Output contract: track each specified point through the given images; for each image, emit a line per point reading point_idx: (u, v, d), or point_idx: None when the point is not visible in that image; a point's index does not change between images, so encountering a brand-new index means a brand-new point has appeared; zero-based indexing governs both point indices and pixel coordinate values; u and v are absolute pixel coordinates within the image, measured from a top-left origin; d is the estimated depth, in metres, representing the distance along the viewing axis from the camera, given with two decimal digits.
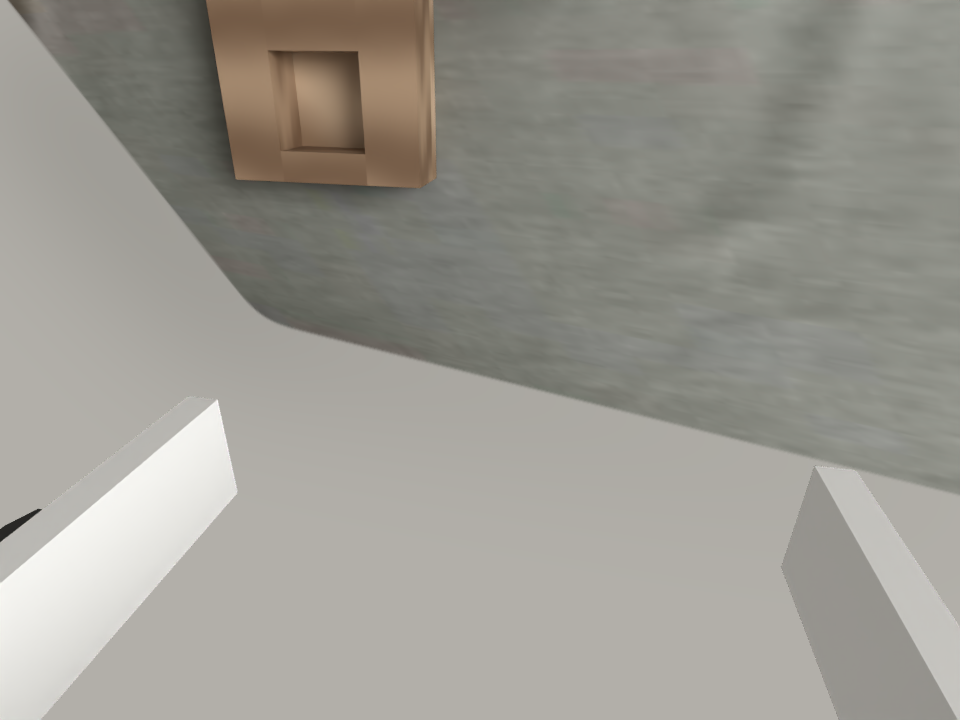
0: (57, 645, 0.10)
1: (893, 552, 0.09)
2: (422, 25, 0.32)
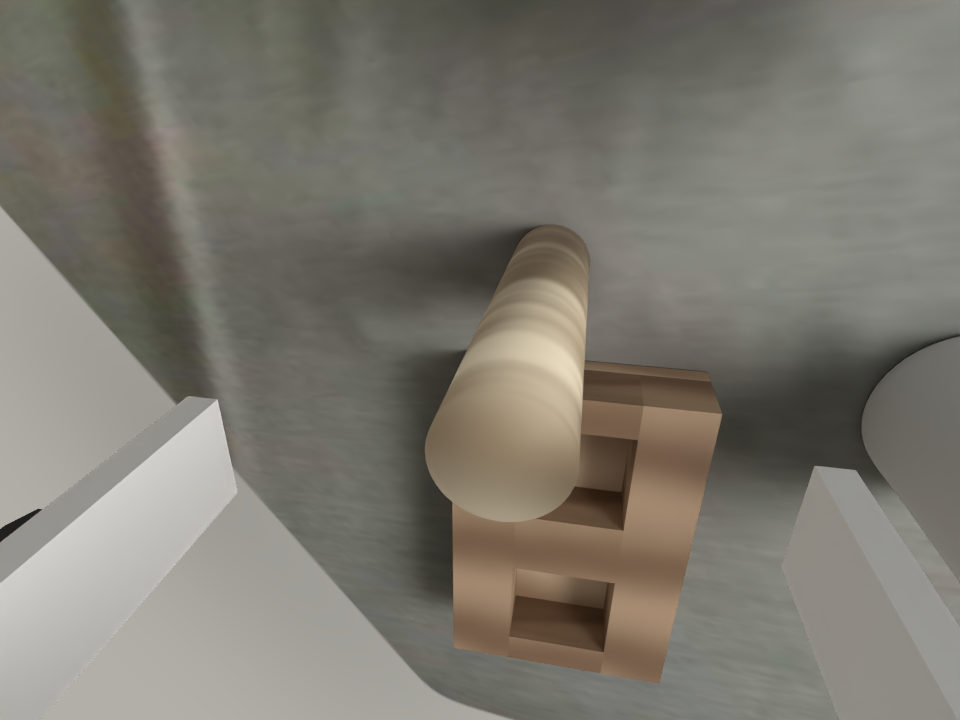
0: (57, 645, 0.10)
1: (893, 552, 0.09)
2: None
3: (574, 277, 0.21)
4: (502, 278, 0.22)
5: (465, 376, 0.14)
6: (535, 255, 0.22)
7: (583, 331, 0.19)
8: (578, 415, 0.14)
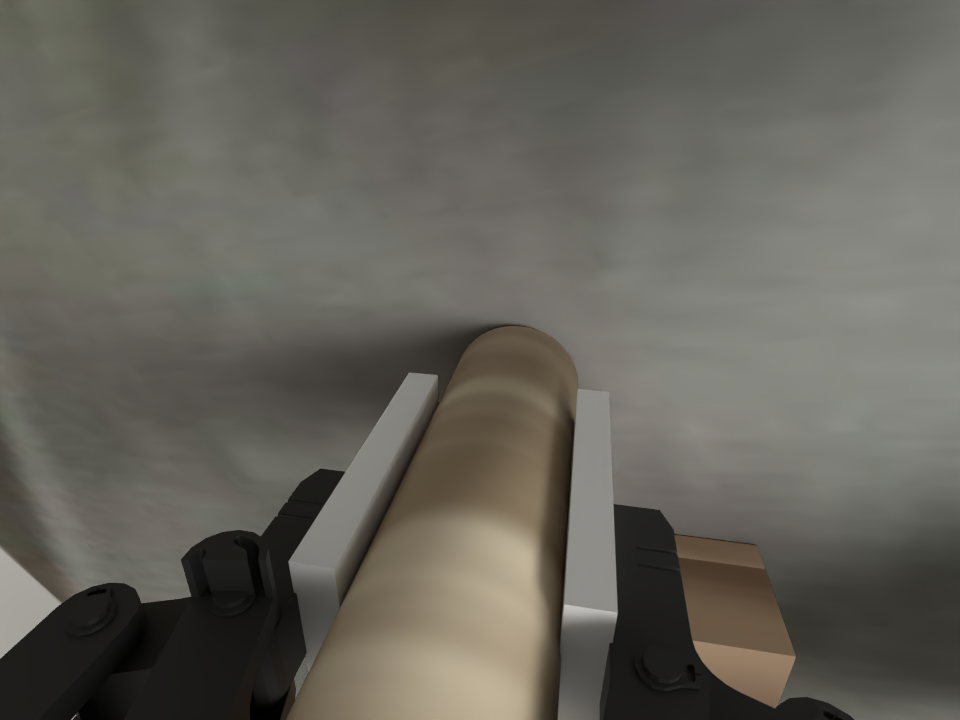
0: None
1: (598, 442, 0.12)
2: None
3: (543, 476, 0.11)
4: (411, 464, 0.12)
5: None
6: (473, 420, 0.12)
7: (555, 660, 0.08)
8: None
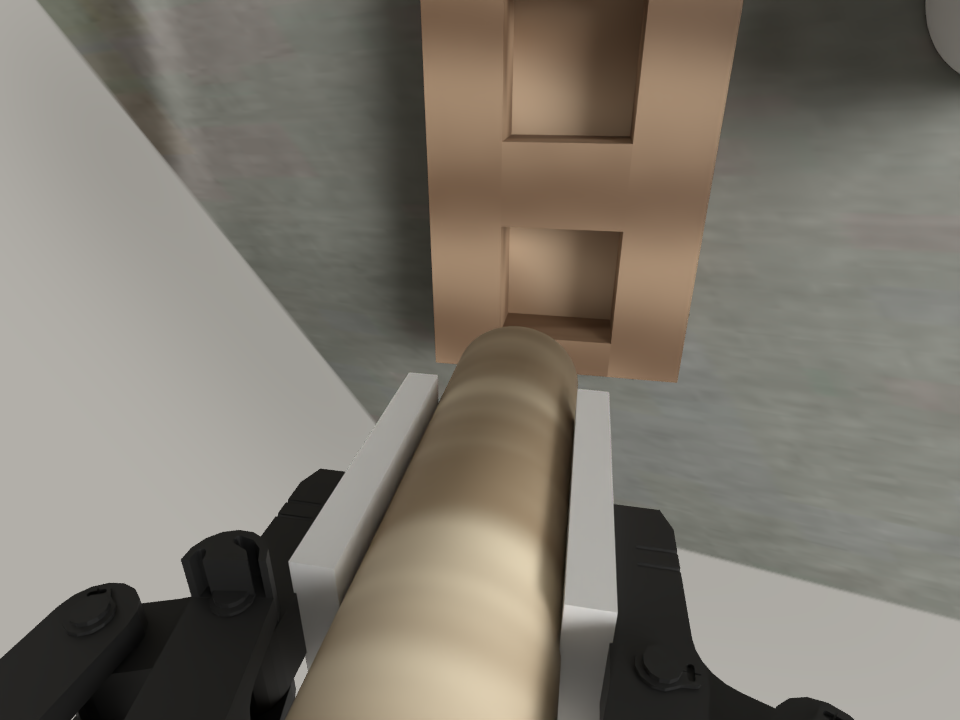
0: None
1: (597, 442, 0.12)
2: None
3: (543, 477, 0.11)
4: (410, 465, 0.12)
5: None
6: (472, 420, 0.12)
7: (554, 663, 0.08)
8: None
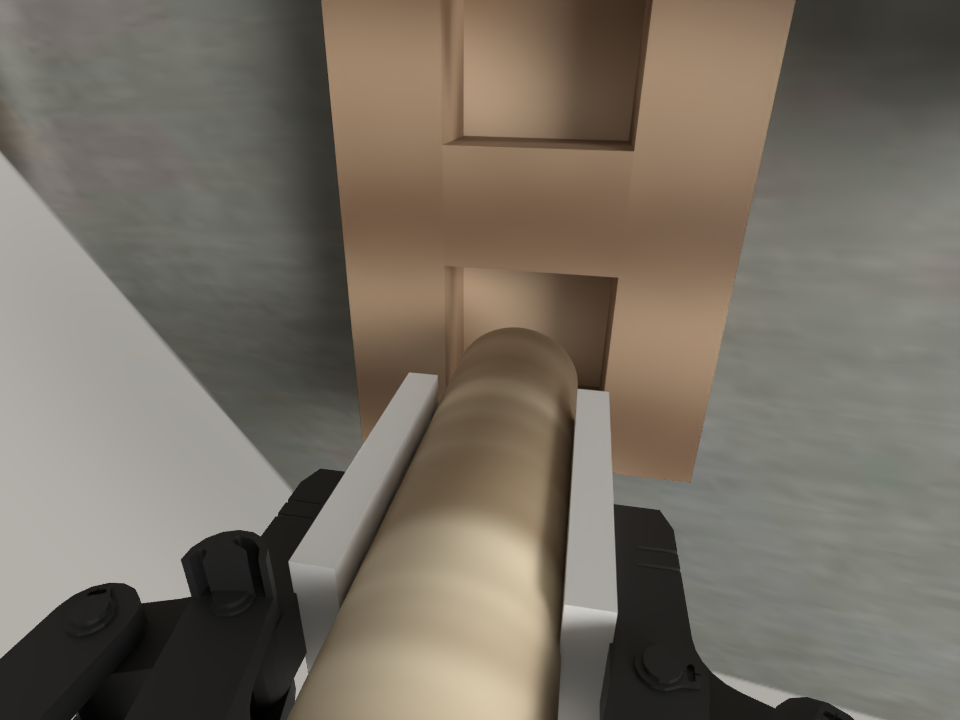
0: None
1: (598, 442, 0.12)
2: None
3: (543, 478, 0.11)
4: (410, 466, 0.12)
5: None
6: (472, 422, 0.12)
7: (554, 664, 0.08)
8: None
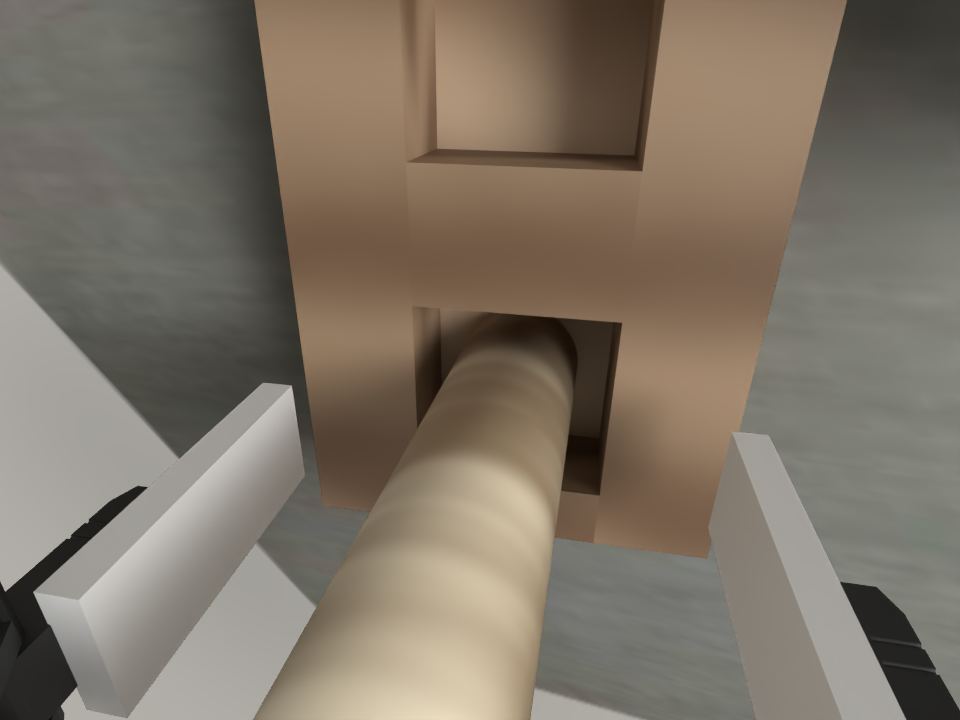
0: (169, 610, 0.10)
1: (786, 502, 0.10)
2: None
3: (539, 432, 0.12)
4: (421, 422, 0.13)
5: None
6: (477, 383, 0.13)
7: (541, 578, 0.10)
8: None
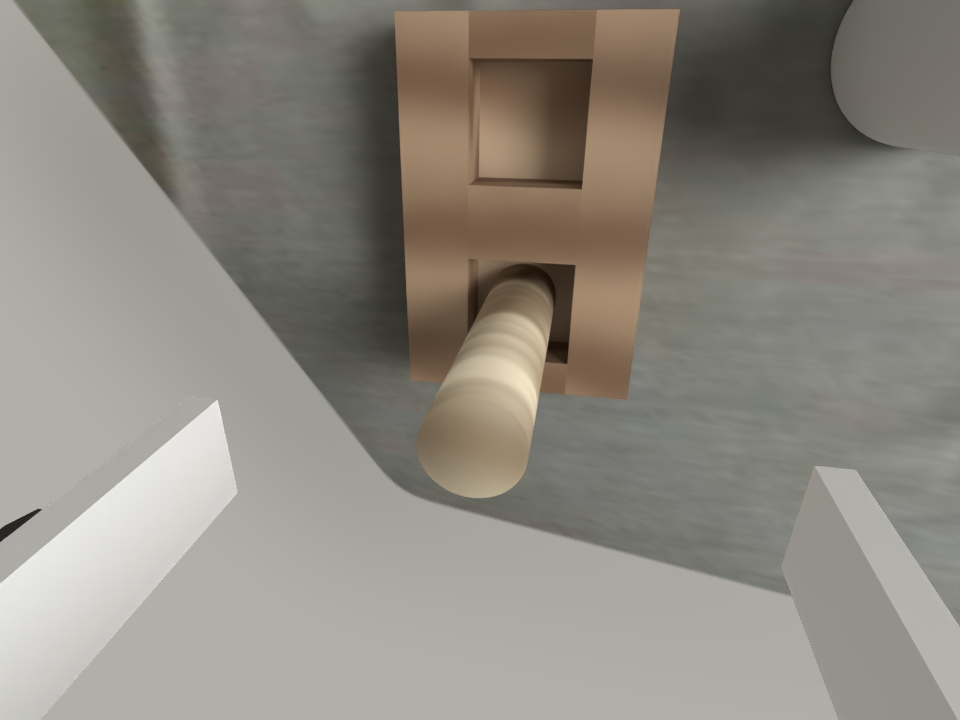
0: (57, 645, 0.10)
1: (893, 552, 0.09)
2: None
3: (537, 310, 0.26)
4: (480, 310, 0.27)
5: (446, 390, 0.19)
6: (507, 292, 0.27)
7: (541, 354, 0.24)
8: (529, 418, 0.19)
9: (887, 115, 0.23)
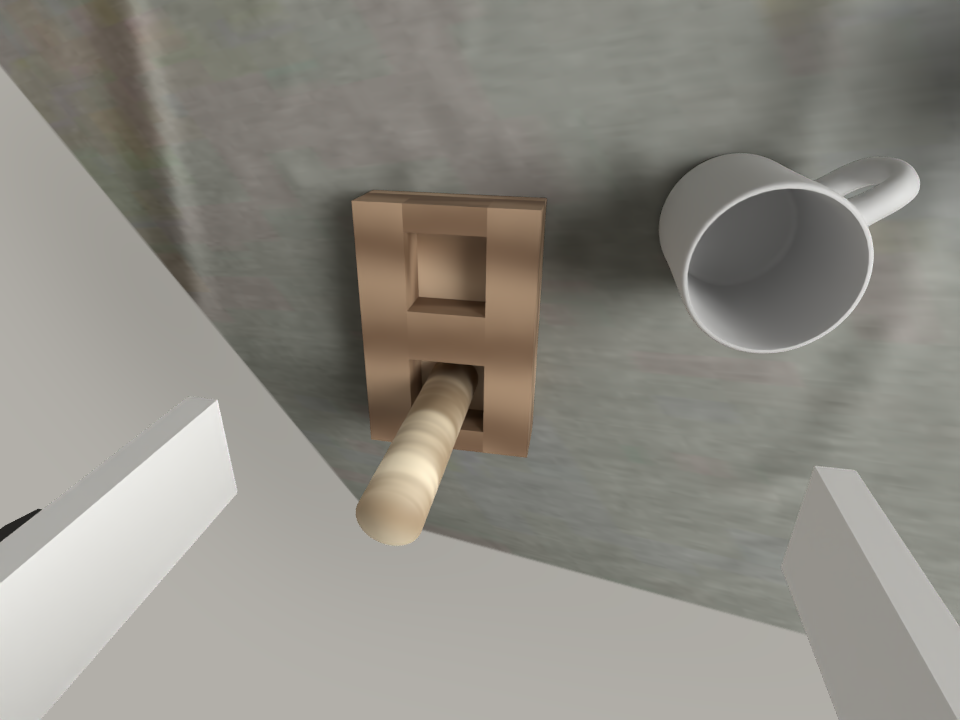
0: (57, 645, 0.10)
1: (893, 552, 0.09)
2: (535, 342, 0.40)
3: (453, 404, 0.38)
4: None
5: (375, 479, 0.31)
6: (433, 388, 0.39)
7: (449, 442, 0.35)
8: (427, 497, 0.31)
9: None
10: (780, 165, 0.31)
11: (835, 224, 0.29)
